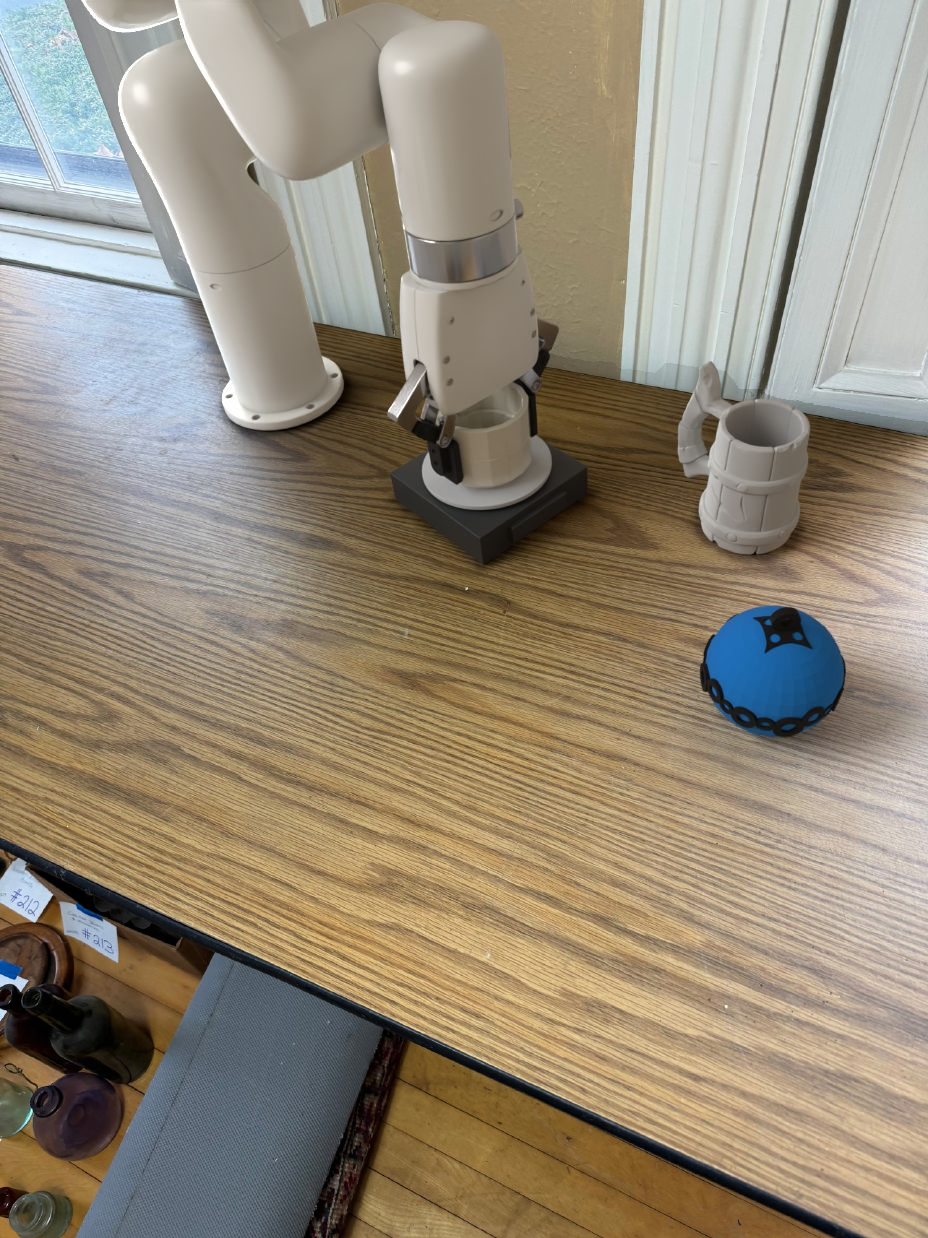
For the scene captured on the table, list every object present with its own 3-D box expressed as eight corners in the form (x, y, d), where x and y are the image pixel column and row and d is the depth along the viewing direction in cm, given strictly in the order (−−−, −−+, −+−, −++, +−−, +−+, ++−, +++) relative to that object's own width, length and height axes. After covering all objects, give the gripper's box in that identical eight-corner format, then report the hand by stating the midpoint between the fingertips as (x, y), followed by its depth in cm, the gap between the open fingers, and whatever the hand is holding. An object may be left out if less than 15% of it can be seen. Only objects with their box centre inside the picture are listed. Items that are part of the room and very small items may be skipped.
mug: (747, 572, 66) (772, 446, 57) (643, 496, 73) (650, 373, 64) (817, 528, 68) (851, 400, 59) (709, 458, 75) (725, 334, 66)
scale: (395, 499, 76) (388, 466, 73) (495, 437, 80) (492, 403, 78) (487, 568, 69) (483, 534, 66) (592, 496, 73) (592, 461, 71)
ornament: (808, 654, 60) (839, 552, 52) (847, 759, 54) (888, 661, 47) (684, 665, 61) (697, 565, 53) (710, 770, 55) (729, 674, 47)
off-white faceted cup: (426, 465, 73) (416, 406, 68) (491, 426, 75) (485, 366, 71) (483, 505, 69) (476, 444, 64) (550, 461, 71) (547, 400, 67)
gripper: (518, 185, 63) (531, 390, 77) (326, 277, 57) (377, 483, 70) (592, 210, 59) (592, 422, 72) (393, 313, 53) (433, 525, 66)
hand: (486, 451), depth 71 cm, fingers closed on off-white faceted cup, 7 cm apart
